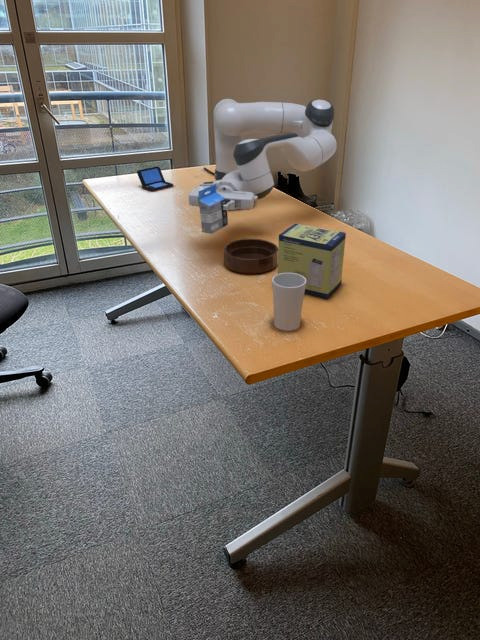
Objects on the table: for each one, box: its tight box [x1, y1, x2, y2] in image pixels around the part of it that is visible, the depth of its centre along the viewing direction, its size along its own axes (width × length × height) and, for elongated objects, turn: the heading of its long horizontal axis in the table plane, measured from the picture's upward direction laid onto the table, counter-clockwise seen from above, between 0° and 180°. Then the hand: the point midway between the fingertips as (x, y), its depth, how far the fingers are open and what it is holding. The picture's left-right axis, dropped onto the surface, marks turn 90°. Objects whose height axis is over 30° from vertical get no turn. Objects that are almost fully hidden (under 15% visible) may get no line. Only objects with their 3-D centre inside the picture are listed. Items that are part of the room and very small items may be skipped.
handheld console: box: [136, 165, 174, 192], centre depth 225 cm, size 12×11×7 cm
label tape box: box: [198, 184, 229, 235], centre depth 149 cm, size 9×4×12 cm, turn 148°
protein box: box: [277, 222, 347, 300], centre depth 138 cm, size 10×16×16 cm
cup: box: [271, 273, 306, 331], centre depth 121 cm, size 8×8×12 cm
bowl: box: [223, 238, 278, 275], centre depth 153 cm, size 16×16×5 cm
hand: (215, 207), depth 149 cm, fingers closed on label tape box, 5 cm apart
